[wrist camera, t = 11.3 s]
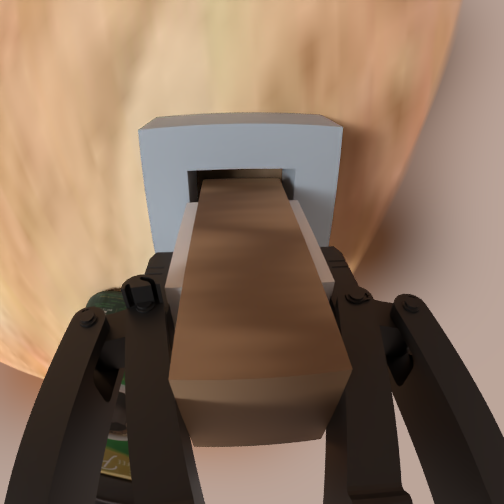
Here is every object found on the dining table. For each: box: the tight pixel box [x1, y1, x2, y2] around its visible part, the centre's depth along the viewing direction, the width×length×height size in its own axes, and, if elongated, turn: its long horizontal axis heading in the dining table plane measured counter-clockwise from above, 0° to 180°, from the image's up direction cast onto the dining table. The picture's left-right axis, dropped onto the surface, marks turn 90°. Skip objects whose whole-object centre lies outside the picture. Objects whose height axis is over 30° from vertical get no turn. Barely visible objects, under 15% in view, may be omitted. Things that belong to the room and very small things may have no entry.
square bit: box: [168, 178, 353, 447], centre depth 12 cm, size 4×4×12 cm
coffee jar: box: [86, 291, 135, 504], centre depth 18 cm, size 10×8×19 cm
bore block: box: [138, 113, 343, 254], centre depth 18 cm, size 10×10×4 cm
